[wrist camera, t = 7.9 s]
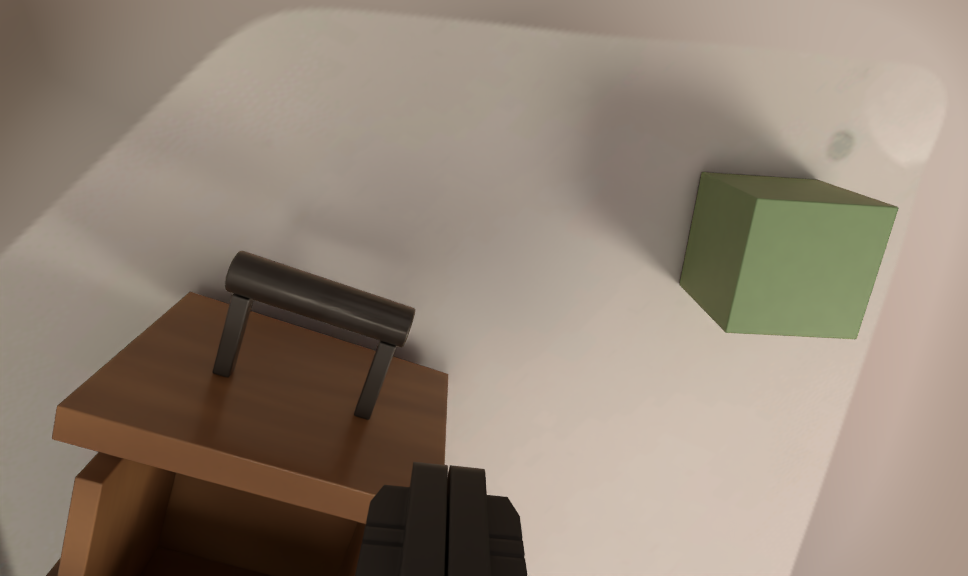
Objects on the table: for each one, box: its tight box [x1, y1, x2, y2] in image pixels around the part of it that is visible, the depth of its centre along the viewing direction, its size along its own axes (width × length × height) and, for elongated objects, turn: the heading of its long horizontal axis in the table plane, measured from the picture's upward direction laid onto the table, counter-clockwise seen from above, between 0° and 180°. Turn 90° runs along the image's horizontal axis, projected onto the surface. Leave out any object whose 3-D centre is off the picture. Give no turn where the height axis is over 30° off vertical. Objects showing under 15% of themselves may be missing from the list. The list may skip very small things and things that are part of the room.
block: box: [680, 172, 898, 339], centre depth 23 cm, size 5×5×5 cm
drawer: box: [52, 251, 448, 576], centre depth 23 cm, size 18×11×9 cm, turn 159°
